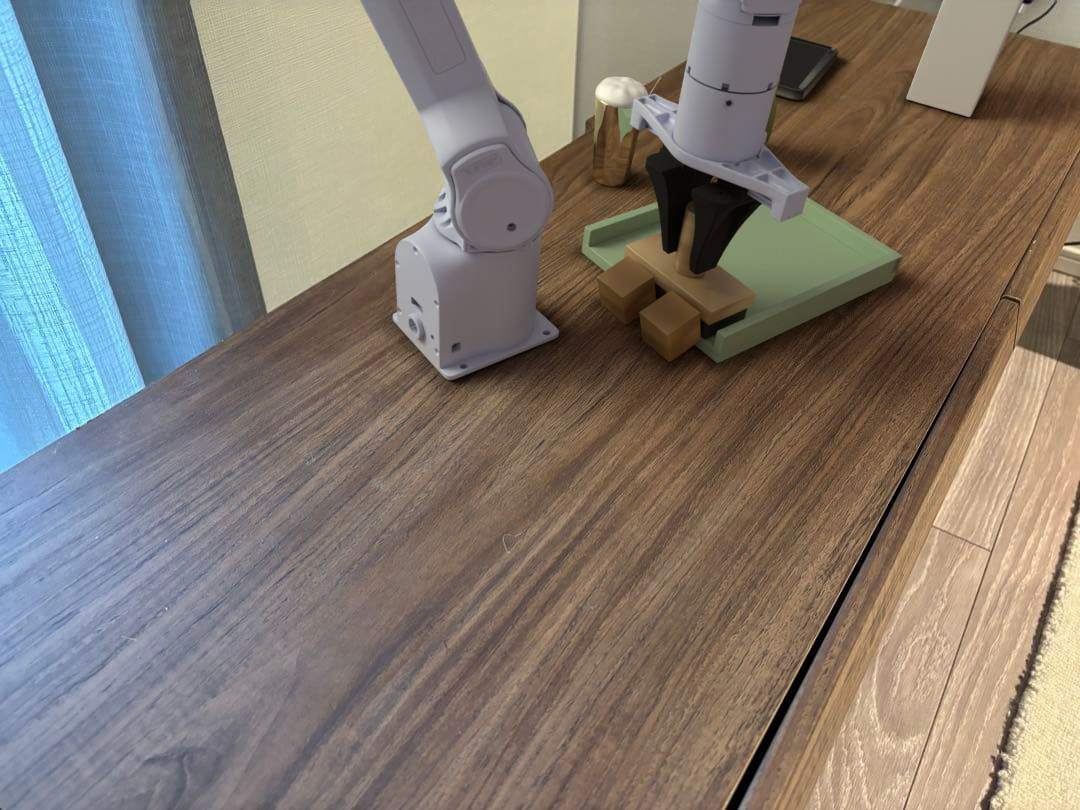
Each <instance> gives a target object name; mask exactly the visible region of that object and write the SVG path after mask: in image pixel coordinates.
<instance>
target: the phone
mask: <svg viewBox="0 0 1080 810" xmlns="http://www.w3.org/2000/svg"><path fill="white" fill-rule="evenodd" d="M838 54H839V50H838V49H837V48H836V47H833V46H830V45H827V44H826V45H825V44H822V43H819V42H815V41H811V40H808V39H804V38H800V37H796V36H793V35H791V37H790V41H789V44H788V48H787V52H786V56H785V59H784V63H783V67H782V70H781V74H780V83H779V86H778V89H777V91H776V97H777V96H778V97H782V98H785V99H788V100H790V101H791V100H792V101H802V100H805V98H806V97H807V96H808V94H809V93H810V92H811V91H812V90H813V89H814V88H815V86H817V84H818V83H819V82H820V80H821V79H822V78H823V77H824V76H825V75H826V73H827V72H828V71H829V70H830V69H831V67H833V66H834V64H835V63H836V62H837V61H836V60H837V58H838Z"/></svg>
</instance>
